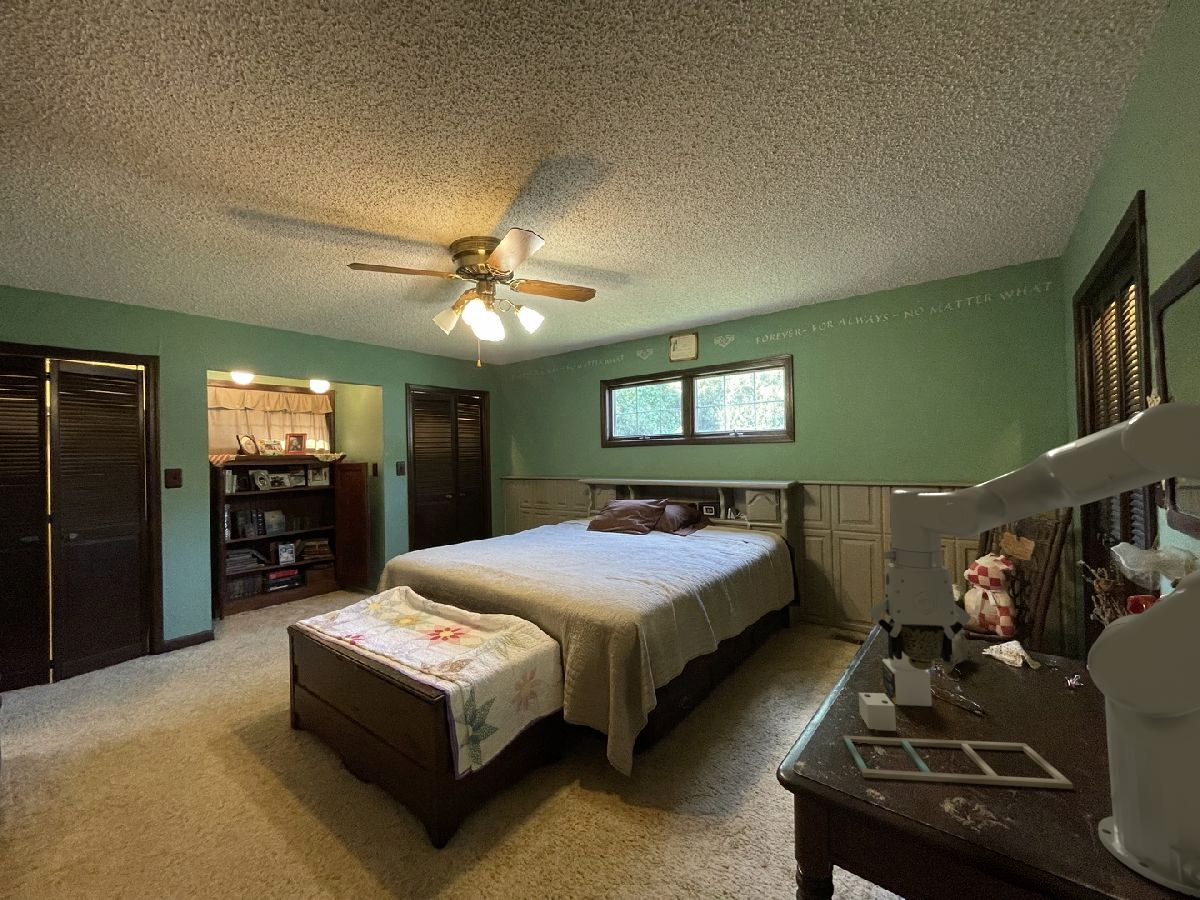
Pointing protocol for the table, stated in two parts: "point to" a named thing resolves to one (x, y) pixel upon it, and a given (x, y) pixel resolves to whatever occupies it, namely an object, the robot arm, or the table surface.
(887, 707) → the die
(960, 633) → the decorative bird
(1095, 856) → the table surface
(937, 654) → the dark patterned vase
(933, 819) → the table surface
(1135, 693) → the robot arm
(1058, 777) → the ladder
